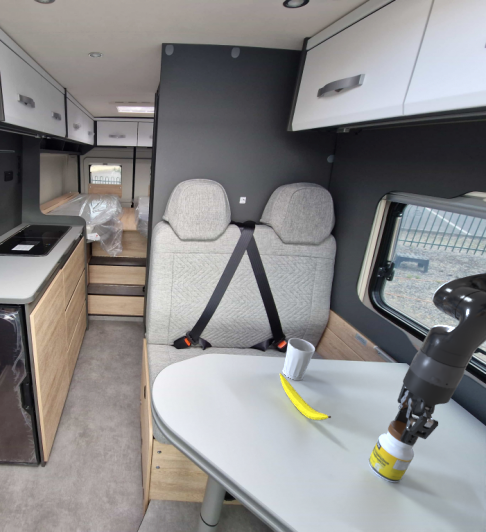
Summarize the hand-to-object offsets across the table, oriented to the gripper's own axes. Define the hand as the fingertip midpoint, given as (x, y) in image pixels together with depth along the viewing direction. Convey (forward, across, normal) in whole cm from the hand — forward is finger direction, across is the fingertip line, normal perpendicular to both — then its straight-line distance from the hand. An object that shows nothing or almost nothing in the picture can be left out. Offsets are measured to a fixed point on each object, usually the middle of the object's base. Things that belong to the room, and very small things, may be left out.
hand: (402, 433), depth 70 cm
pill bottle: (+12, 0, 0) cm, 12 cm away
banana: (+12, +11, +19) cm, 25 cm away
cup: (+12, +27, +21) cm, 36 cm away
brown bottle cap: (+1, 0, 0) cm, 1 cm away
